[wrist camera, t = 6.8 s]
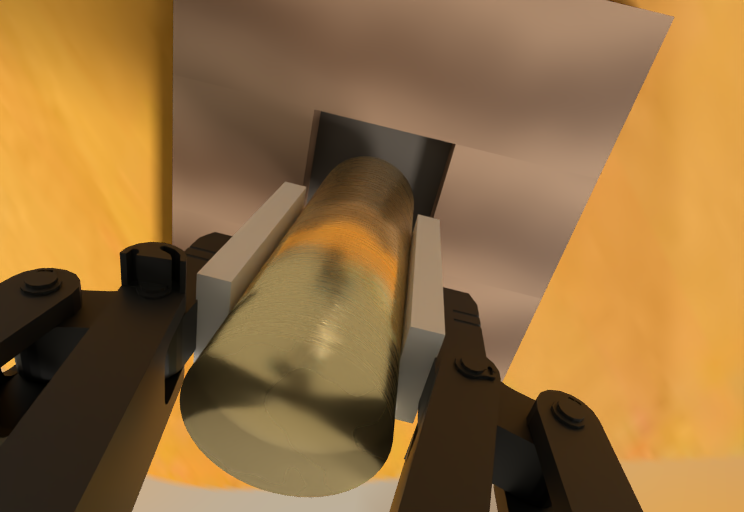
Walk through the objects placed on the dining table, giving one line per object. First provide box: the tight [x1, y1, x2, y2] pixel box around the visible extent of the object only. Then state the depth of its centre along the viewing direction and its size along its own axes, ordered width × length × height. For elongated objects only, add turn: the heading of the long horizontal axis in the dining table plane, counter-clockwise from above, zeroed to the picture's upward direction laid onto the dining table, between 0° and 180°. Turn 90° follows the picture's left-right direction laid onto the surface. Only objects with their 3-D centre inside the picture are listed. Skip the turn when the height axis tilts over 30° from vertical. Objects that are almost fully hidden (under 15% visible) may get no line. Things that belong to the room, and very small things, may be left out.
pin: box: [180, 156, 414, 497], centre depth 14 cm, size 4×4×12 cm
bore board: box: [172, 0, 674, 382], centre depth 21 cm, size 18×18×2 cm
